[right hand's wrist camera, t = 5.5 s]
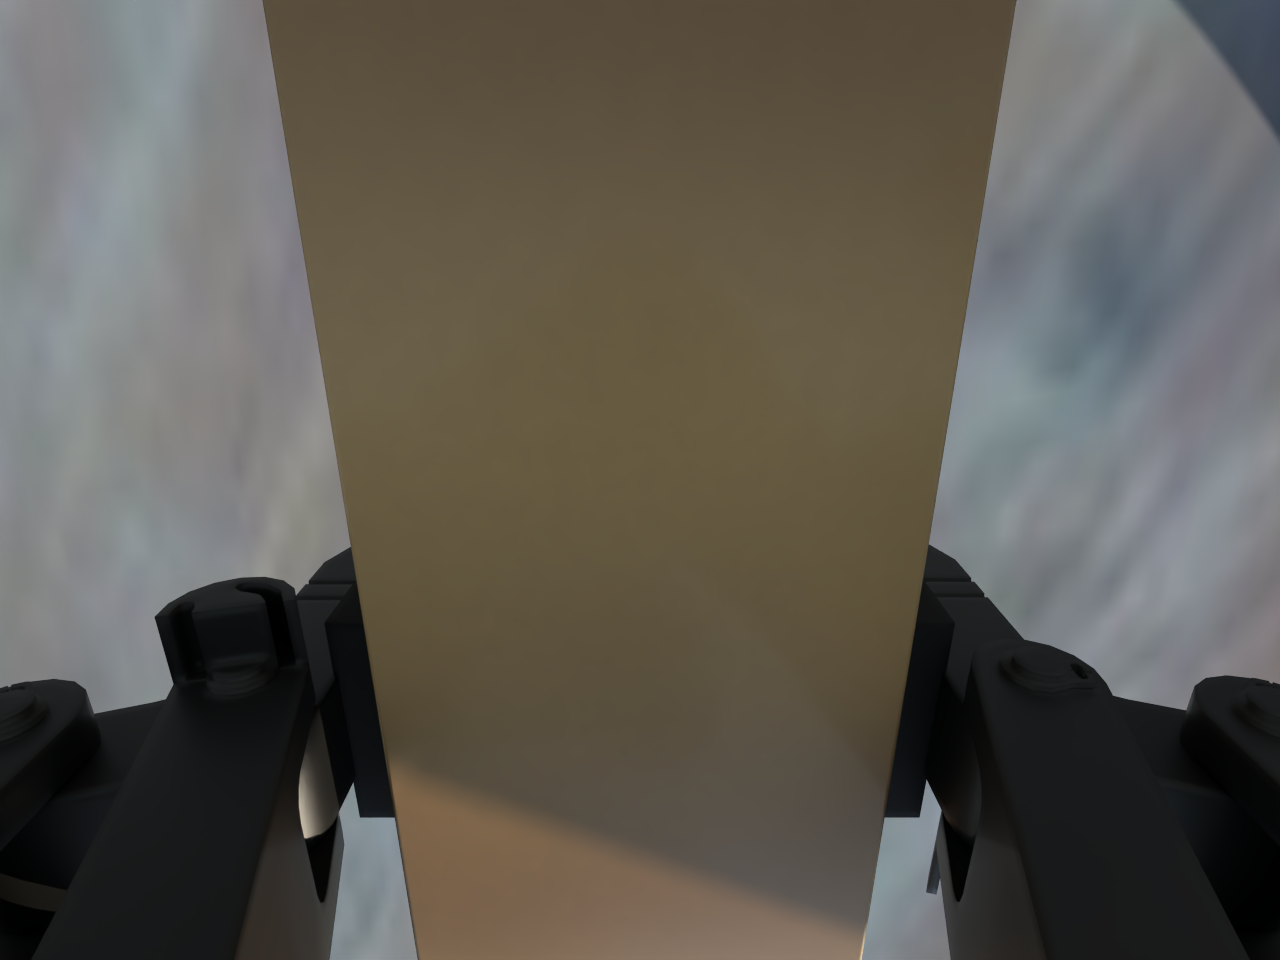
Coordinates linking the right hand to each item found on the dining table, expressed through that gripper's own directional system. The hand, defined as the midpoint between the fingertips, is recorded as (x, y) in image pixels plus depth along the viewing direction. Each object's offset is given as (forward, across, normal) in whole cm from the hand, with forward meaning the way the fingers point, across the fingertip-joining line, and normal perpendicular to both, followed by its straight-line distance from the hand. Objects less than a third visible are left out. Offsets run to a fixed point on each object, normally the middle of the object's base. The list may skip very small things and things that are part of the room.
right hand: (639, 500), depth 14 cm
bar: (+1, 0, -8) cm, 8 cm away
